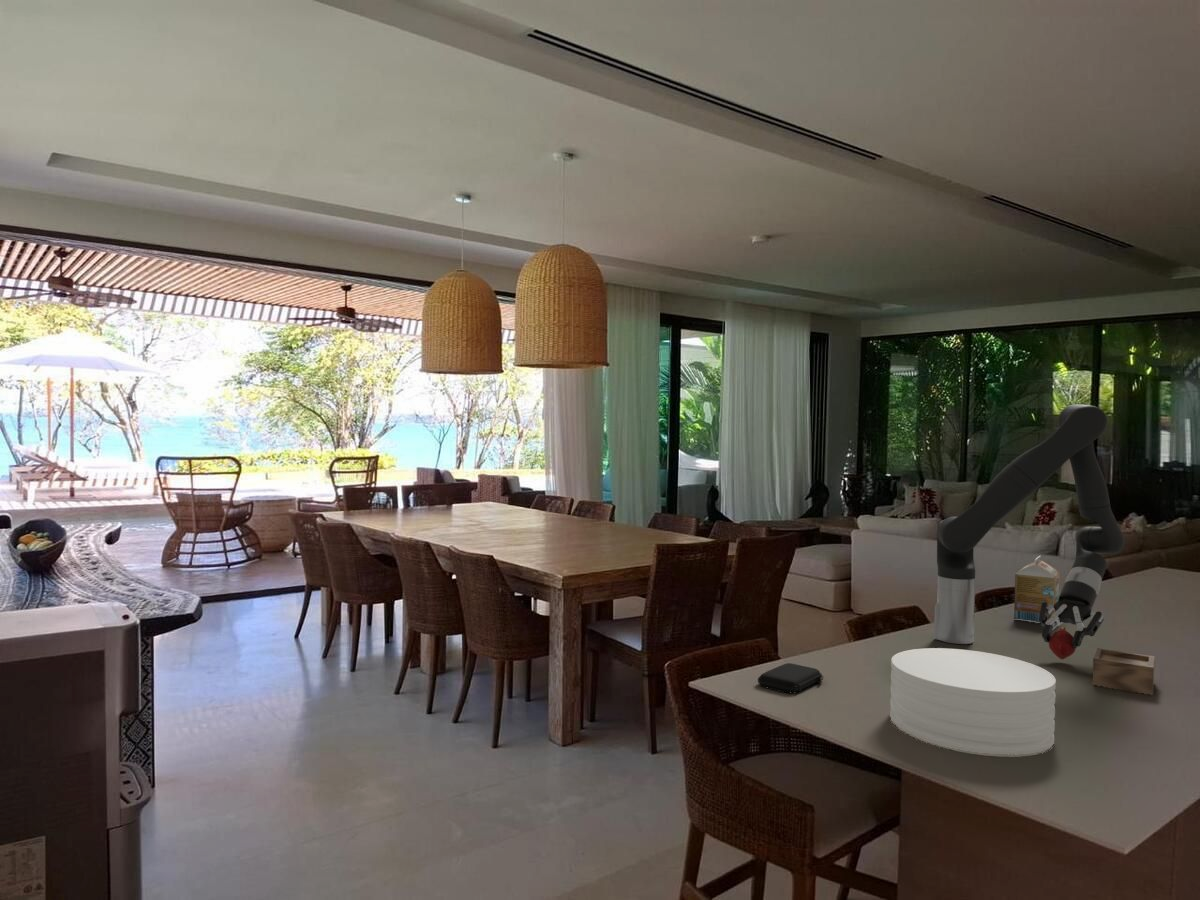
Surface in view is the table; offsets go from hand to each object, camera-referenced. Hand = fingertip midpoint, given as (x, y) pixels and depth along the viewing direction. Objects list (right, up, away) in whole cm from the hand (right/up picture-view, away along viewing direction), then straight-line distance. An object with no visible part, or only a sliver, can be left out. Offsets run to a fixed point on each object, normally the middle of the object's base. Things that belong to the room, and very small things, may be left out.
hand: (1059, 643), depth 194 cm
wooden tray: (+5, -5, -16) cm, 17 cm away
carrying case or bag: (-70, -5, -19) cm, 72 cm away
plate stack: (-43, -6, -44) cm, 61 cm away
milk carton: (+20, -5, +48) cm, 52 cm away
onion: (+1, -4, +1) cm, 5 cm away
